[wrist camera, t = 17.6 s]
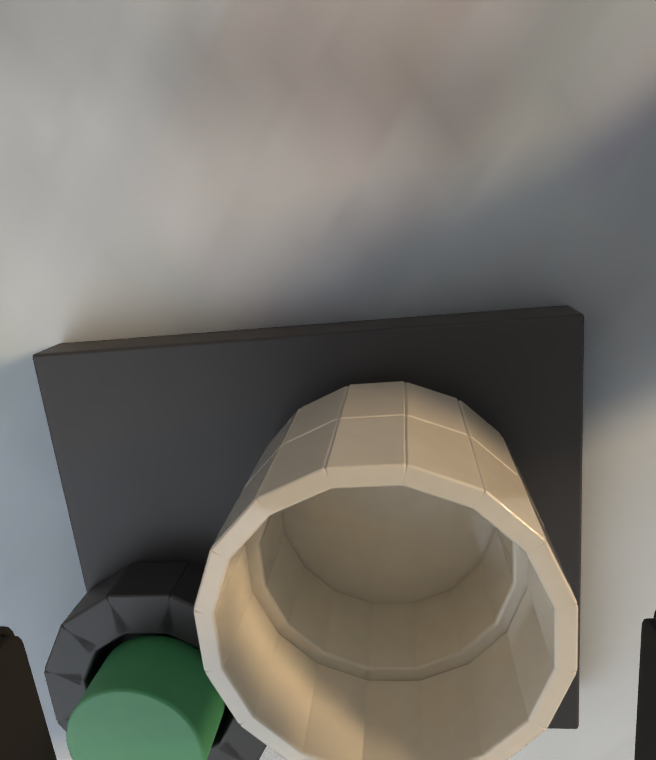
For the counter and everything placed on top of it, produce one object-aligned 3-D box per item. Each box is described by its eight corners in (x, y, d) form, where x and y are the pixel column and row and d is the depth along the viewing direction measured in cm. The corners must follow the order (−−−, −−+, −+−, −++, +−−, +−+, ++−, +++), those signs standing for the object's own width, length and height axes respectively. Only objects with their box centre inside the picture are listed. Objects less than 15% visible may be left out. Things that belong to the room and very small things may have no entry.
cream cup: (276, 611, 18) (224, 784, 12) (245, 383, 16) (167, 474, 11) (522, 608, 17) (576, 794, 12) (518, 366, 15) (581, 455, 10)
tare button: (115, 738, 18) (81, 803, 16) (91, 633, 17) (51, 689, 15) (235, 740, 18) (214, 807, 16) (216, 632, 17) (192, 690, 15)
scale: (117, 708, 21) (73, 787, 18) (34, 344, 18) (-37, 372, 15) (566, 713, 19) (595, 803, 16) (569, 304, 16) (606, 327, 13)
